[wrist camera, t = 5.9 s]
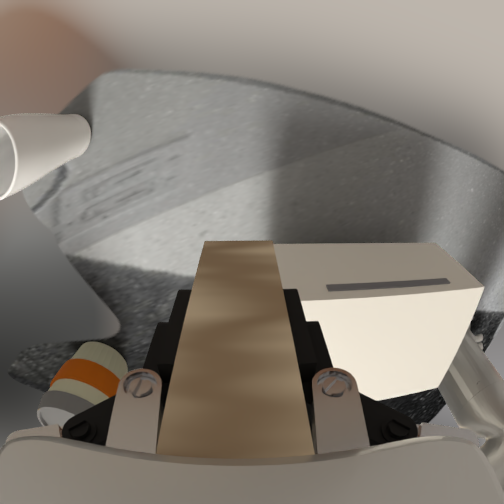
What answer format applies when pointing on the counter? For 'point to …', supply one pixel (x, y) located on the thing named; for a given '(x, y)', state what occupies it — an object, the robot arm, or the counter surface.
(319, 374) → the robot arm
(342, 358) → the cabinet
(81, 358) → the reusable coffee cup
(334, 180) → the counter surface
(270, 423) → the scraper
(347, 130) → the counter surface
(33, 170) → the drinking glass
